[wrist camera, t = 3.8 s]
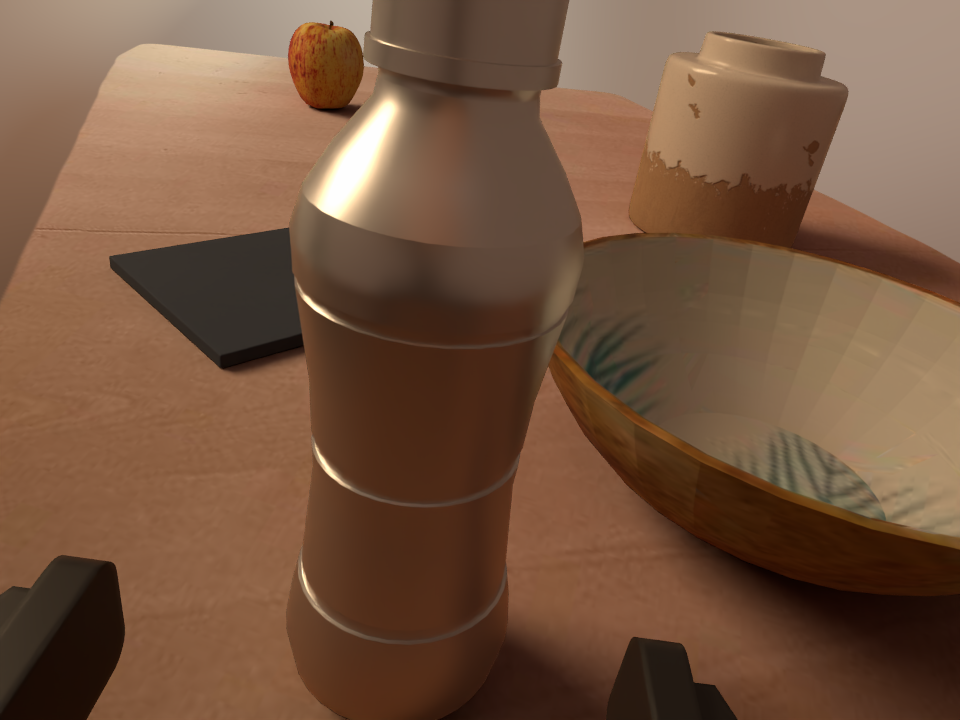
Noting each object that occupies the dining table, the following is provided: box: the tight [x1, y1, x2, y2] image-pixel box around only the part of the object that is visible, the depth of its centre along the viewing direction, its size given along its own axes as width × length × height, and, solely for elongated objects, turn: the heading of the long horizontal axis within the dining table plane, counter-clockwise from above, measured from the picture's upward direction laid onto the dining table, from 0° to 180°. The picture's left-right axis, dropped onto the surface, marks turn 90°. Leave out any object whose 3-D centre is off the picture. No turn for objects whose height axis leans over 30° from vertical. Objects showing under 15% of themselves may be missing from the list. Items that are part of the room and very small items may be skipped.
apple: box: [288, 21, 364, 109], centre depth 90 cm, size 9×9×10 cm
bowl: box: [548, 233, 960, 596], centre depth 33 cm, size 25×25×8 cm
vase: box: [629, 31, 848, 248], centre depth 65 cm, size 15×15×17 cm
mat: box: [109, 228, 304, 368], centre depth 46 cm, size 16×14×1 cm
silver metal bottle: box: [286, 0, 584, 720], centre depth 19 cm, size 6×7×20 cm
